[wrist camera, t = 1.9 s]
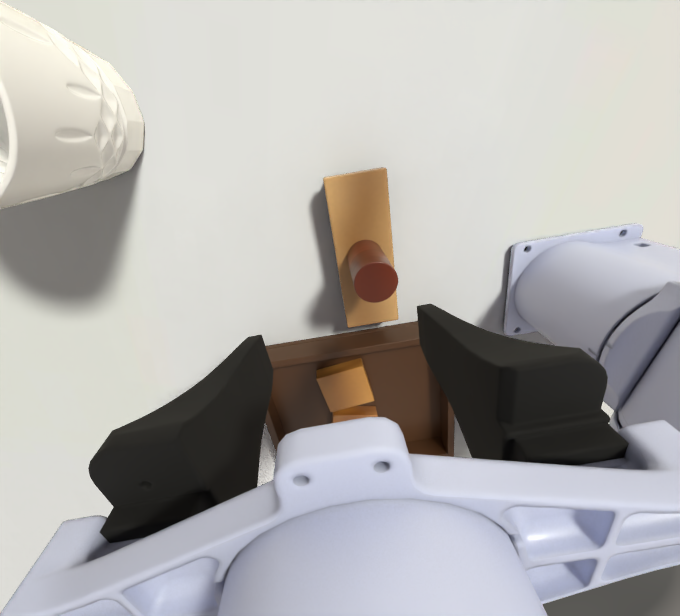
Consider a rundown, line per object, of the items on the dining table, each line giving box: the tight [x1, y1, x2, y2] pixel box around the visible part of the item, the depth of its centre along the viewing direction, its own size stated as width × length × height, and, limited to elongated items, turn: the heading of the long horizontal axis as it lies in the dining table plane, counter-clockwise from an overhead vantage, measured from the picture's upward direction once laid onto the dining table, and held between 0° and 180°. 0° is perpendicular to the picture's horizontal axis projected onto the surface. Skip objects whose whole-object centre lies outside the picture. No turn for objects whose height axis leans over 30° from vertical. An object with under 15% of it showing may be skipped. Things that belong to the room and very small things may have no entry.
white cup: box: [0, 1, 144, 209], centre depth 14 cm, size 8×8×10 cm
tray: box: [265, 321, 455, 457], centre depth 28 cm, size 16×14×2 cm
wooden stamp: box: [323, 167, 398, 328], centre depth 20 cm, size 4×10×7 cm, turn 9°
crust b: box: [332, 406, 378, 423], centre depth 30 cm, size 4×4×1 cm
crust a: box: [316, 358, 374, 412], centre depth 27 cm, size 4×4×1 cm
